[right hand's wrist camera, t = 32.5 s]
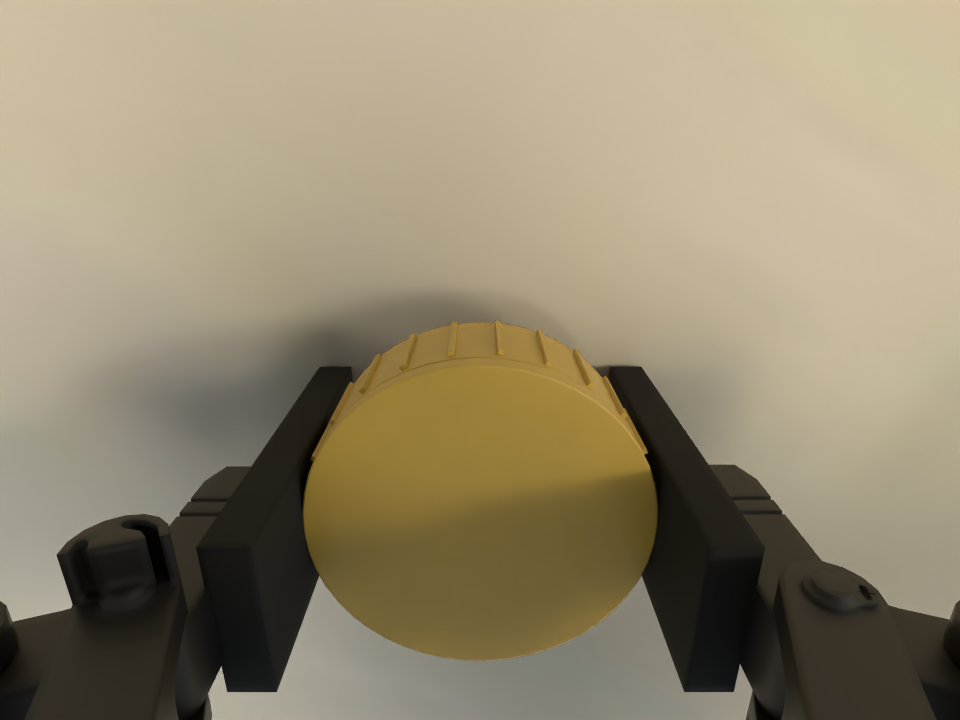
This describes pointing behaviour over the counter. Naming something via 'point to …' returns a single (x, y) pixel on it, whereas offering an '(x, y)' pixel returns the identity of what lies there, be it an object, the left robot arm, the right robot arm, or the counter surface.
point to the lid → (480, 495)
